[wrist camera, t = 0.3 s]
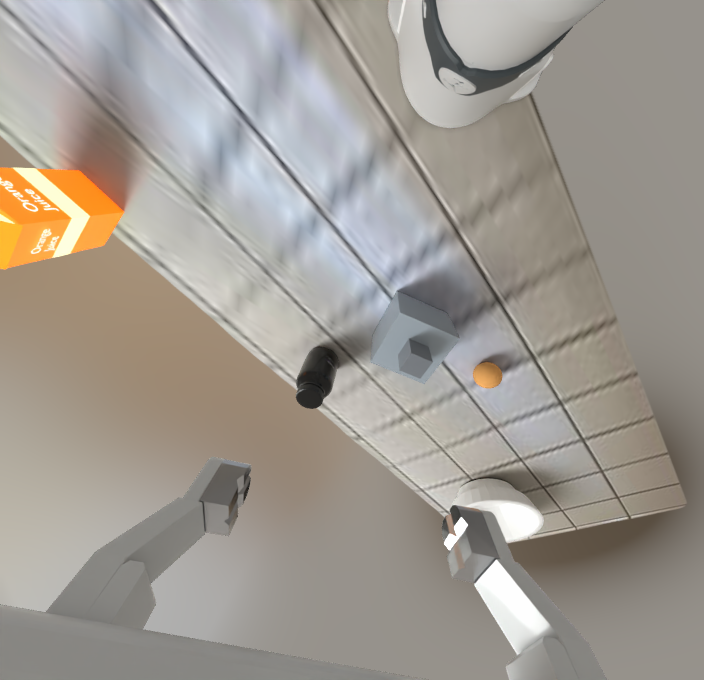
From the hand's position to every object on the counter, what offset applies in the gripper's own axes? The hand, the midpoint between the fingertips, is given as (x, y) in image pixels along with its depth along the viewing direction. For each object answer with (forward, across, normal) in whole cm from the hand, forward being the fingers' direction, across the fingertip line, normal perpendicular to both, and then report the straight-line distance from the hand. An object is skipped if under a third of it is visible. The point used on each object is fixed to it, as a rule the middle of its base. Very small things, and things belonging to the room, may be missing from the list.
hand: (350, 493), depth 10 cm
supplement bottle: (+41, +5, +19) cm, 45 cm away
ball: (+37, -27, +13) cm, 47 cm away
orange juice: (+39, +47, -1) cm, 61 cm away
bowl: (+44, -47, +53) cm, 83 cm away
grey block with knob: (+39, -10, +7) cm, 41 cm away
